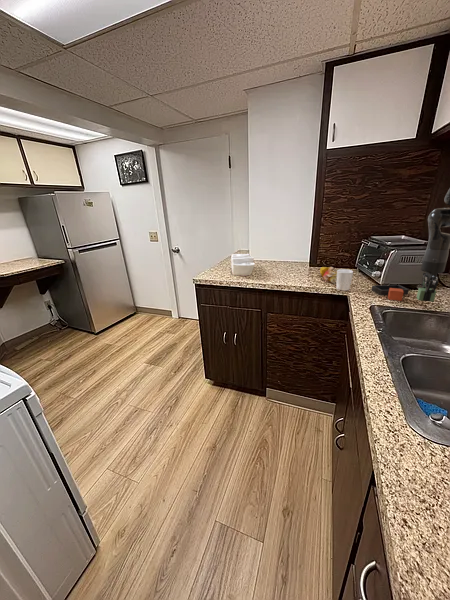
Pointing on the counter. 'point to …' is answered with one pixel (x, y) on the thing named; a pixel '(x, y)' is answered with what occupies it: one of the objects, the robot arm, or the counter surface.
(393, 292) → the orange block
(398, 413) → the counter surface
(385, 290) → the dark grey tray
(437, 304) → the counter surface
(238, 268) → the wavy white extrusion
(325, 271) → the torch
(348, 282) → the white cup
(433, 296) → the green block
